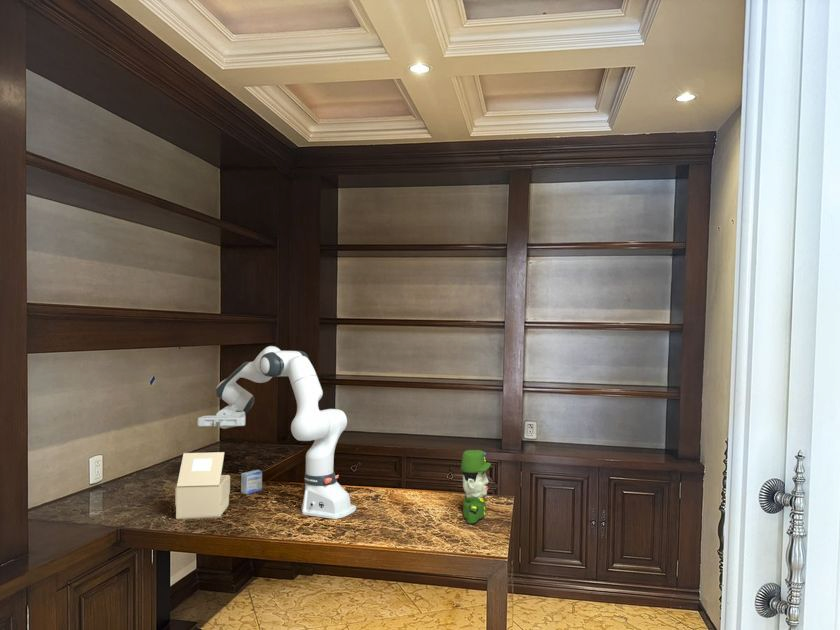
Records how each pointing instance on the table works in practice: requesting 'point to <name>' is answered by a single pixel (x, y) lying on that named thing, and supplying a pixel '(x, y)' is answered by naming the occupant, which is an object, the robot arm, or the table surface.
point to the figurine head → (474, 484)
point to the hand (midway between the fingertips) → (217, 424)
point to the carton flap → (201, 469)
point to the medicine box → (251, 481)
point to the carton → (202, 500)
